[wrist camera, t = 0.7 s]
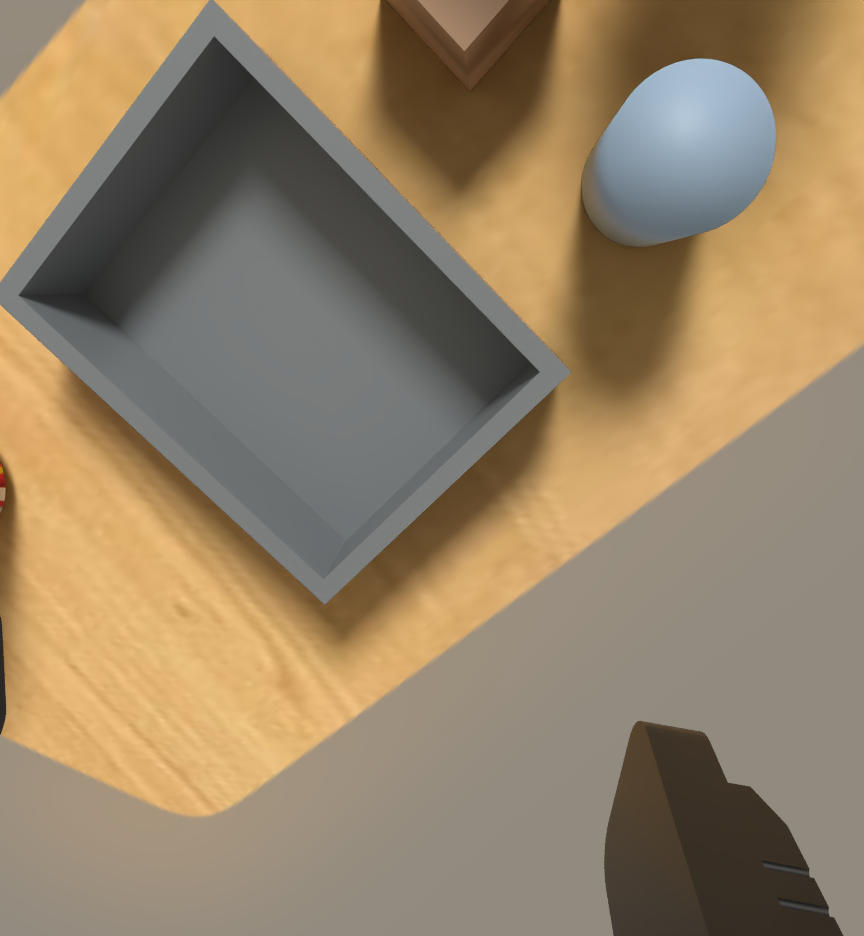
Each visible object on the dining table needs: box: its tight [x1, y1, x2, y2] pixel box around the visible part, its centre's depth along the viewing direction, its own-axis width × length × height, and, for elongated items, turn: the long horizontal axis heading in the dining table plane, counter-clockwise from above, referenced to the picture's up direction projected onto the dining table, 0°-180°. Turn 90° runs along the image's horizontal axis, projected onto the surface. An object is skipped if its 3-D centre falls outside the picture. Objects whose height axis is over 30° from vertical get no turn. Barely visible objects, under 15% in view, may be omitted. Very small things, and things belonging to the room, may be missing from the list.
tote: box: [0, 0, 571, 605], centre depth 28 cm, size 14×18×5 cm
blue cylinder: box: [581, 59, 776, 247], centre depth 25 cm, size 5×5×7 cm
